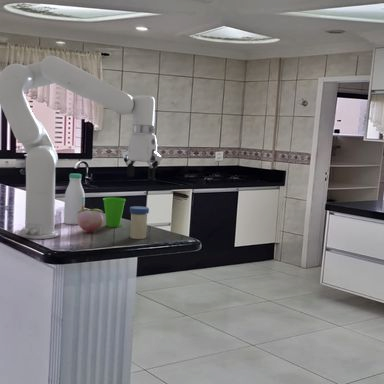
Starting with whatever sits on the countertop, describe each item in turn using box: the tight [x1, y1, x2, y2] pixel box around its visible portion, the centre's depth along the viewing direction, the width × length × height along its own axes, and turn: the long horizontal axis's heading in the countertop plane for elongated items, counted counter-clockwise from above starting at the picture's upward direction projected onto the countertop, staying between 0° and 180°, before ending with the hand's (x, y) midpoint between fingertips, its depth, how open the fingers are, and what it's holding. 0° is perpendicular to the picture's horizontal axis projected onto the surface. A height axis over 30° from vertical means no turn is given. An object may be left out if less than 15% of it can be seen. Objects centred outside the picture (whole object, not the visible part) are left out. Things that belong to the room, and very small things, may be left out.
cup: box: [102, 197, 127, 228], centre depth 227 cm, size 9×9×11 cm
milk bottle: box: [63, 173, 86, 225], centre depth 227 cm, size 8×8×20 cm
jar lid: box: [129, 205, 150, 215], centre depth 208 cm, size 7×7×2 cm
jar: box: [129, 213, 148, 240], centre depth 208 cm, size 6×6×11 cm
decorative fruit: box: [77, 205, 105, 234], centre depth 211 cm, size 9×8×10 cm
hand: (140, 177), depth 206 cm, fingers open, 8 cm apart
